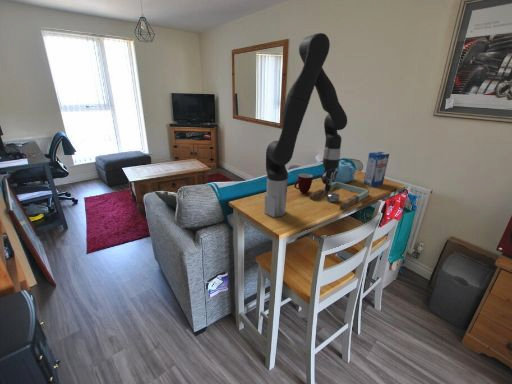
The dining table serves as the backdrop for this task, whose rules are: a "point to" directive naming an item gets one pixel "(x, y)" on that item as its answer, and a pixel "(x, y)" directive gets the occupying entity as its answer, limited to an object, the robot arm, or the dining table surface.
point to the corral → (351, 189)
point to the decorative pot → (345, 172)
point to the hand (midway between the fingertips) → (327, 191)
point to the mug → (304, 182)
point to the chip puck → (333, 198)
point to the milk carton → (376, 168)
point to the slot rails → (342, 205)
